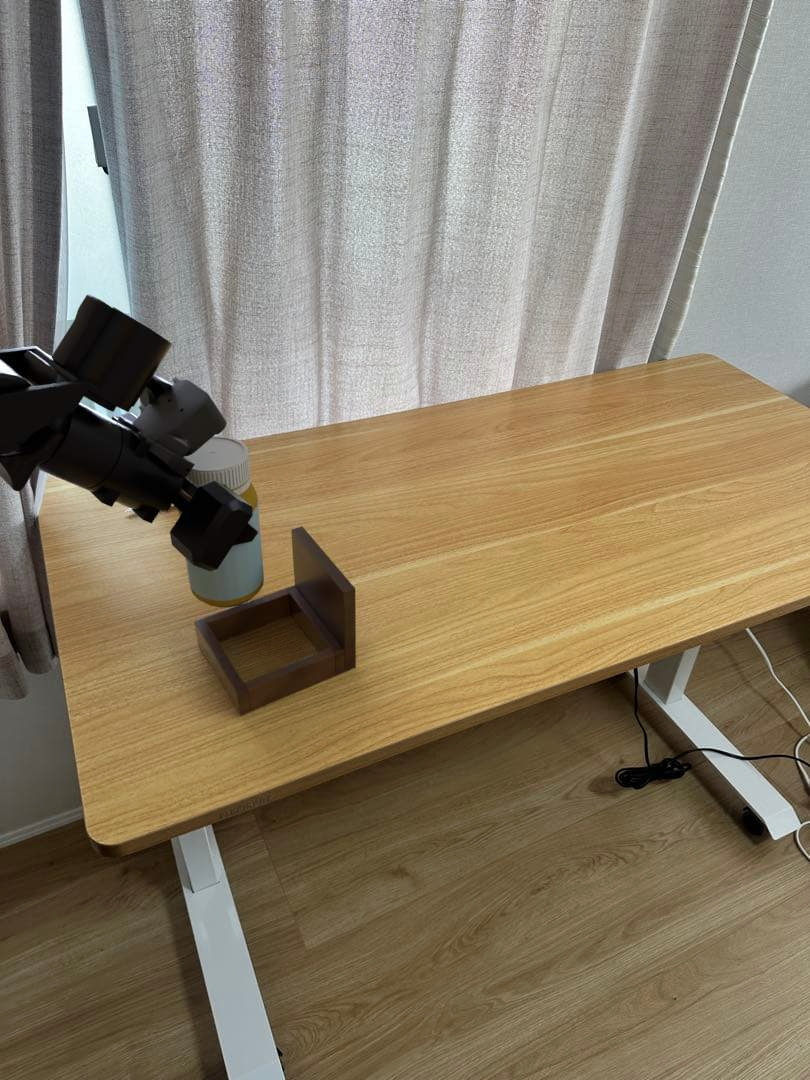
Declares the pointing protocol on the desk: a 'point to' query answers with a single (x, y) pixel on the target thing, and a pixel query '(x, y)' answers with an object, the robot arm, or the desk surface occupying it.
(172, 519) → the desk surface
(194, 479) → the bottle
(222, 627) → the tray
